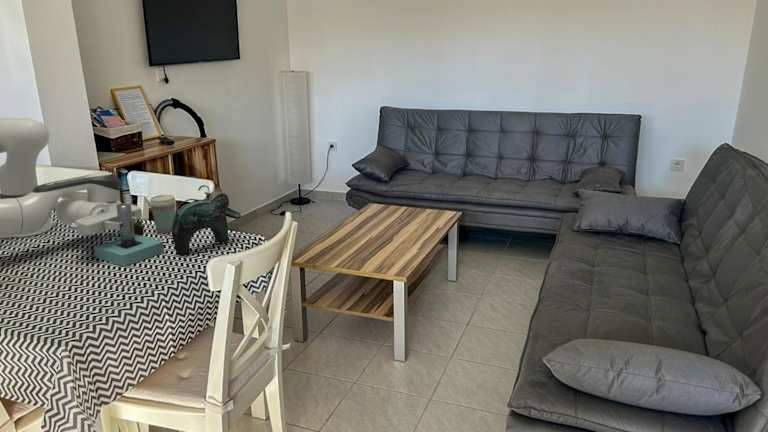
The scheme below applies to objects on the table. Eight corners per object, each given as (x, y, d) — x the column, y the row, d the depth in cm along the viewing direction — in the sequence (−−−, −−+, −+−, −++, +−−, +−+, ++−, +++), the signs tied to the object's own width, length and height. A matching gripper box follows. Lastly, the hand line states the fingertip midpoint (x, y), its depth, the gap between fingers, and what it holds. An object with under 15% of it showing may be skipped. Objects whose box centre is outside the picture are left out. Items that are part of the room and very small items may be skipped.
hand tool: (144, 235, 198) (142, 222, 196) (131, 237, 196) (129, 223, 195) (143, 220, 214) (141, 208, 213) (131, 221, 213) (130, 209, 212)
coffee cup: (175, 225, 208) (171, 193, 204) (182, 232, 201) (178, 198, 197) (150, 229, 203) (146, 196, 199) (156, 236, 196) (152, 202, 193)
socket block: (95, 257, 178) (94, 246, 177) (136, 244, 189) (134, 233, 188) (124, 266, 171) (122, 255, 170) (164, 252, 182) (163, 241, 181)
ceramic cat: (224, 237, 196) (219, 179, 190) (236, 241, 192) (231, 182, 186) (171, 253, 181) (164, 191, 175) (182, 258, 177) (176, 195, 171)
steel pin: (119, 250, 178) (113, 206, 173) (127, 246, 181) (121, 203, 177) (131, 251, 177) (125, 207, 173) (139, 247, 181) (133, 203, 176)
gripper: (64, 216, 172) (96, 222, 166) (121, 199, 190) (152, 204, 184) (67, 236, 174) (99, 243, 168) (124, 217, 192) (155, 223, 186)
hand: (127, 223), depth 176 cm, fingers closed on steel pin, 4 cm apart
